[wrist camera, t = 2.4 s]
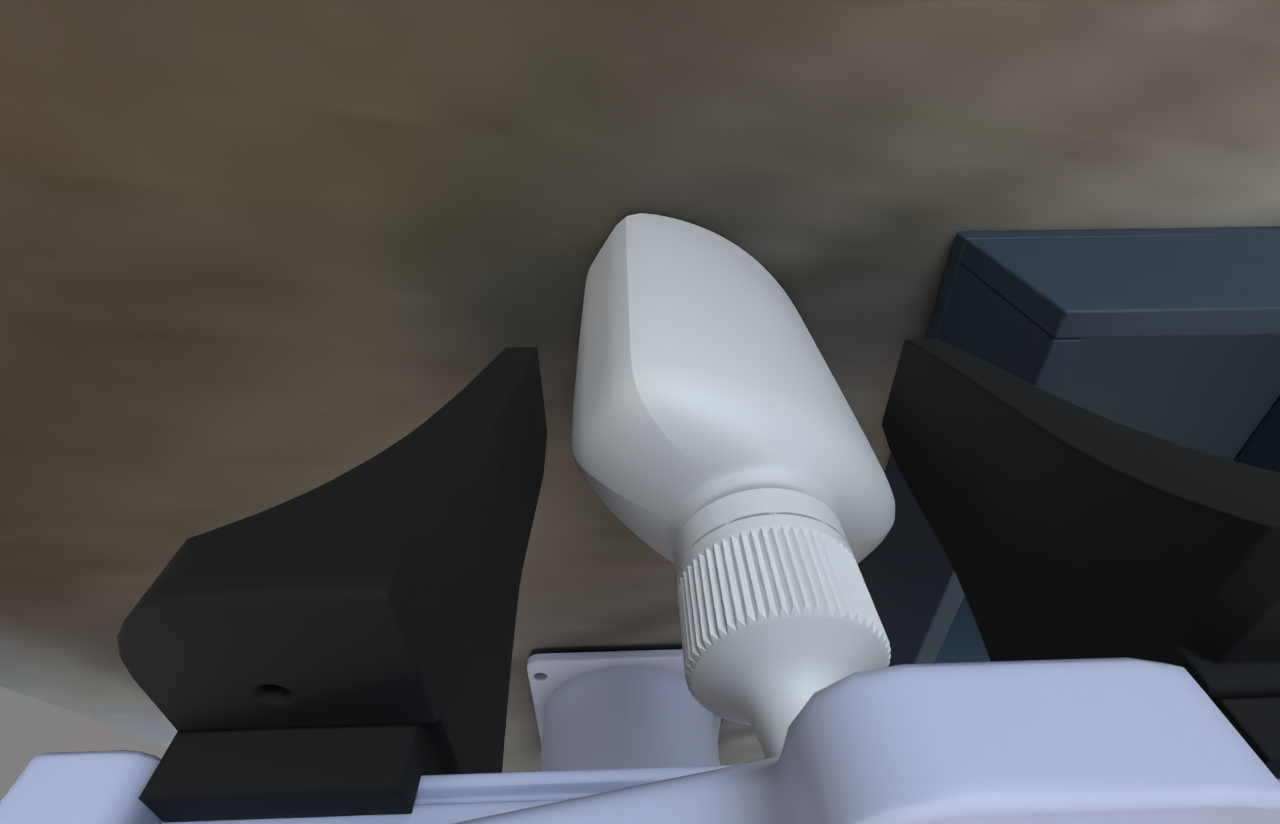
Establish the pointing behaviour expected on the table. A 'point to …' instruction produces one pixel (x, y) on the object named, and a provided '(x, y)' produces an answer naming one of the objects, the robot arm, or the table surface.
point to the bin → (1095, 372)
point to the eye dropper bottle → (731, 467)
